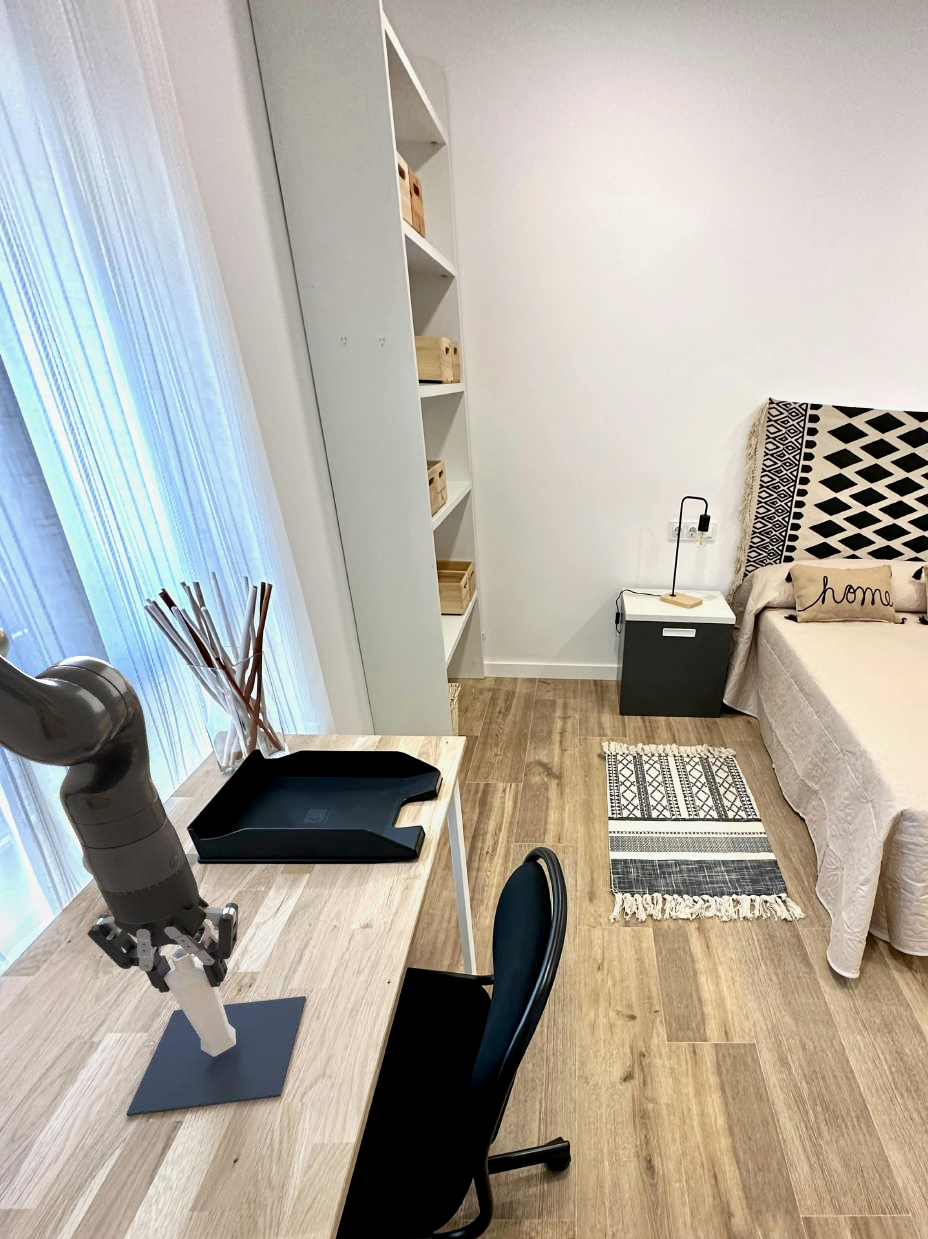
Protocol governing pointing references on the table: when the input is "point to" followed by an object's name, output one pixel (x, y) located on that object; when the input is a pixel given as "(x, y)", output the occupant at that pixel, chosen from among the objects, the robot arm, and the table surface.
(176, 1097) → the cloth
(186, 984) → the perfume bottle
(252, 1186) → the table surface
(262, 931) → the table surface
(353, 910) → the table surface
